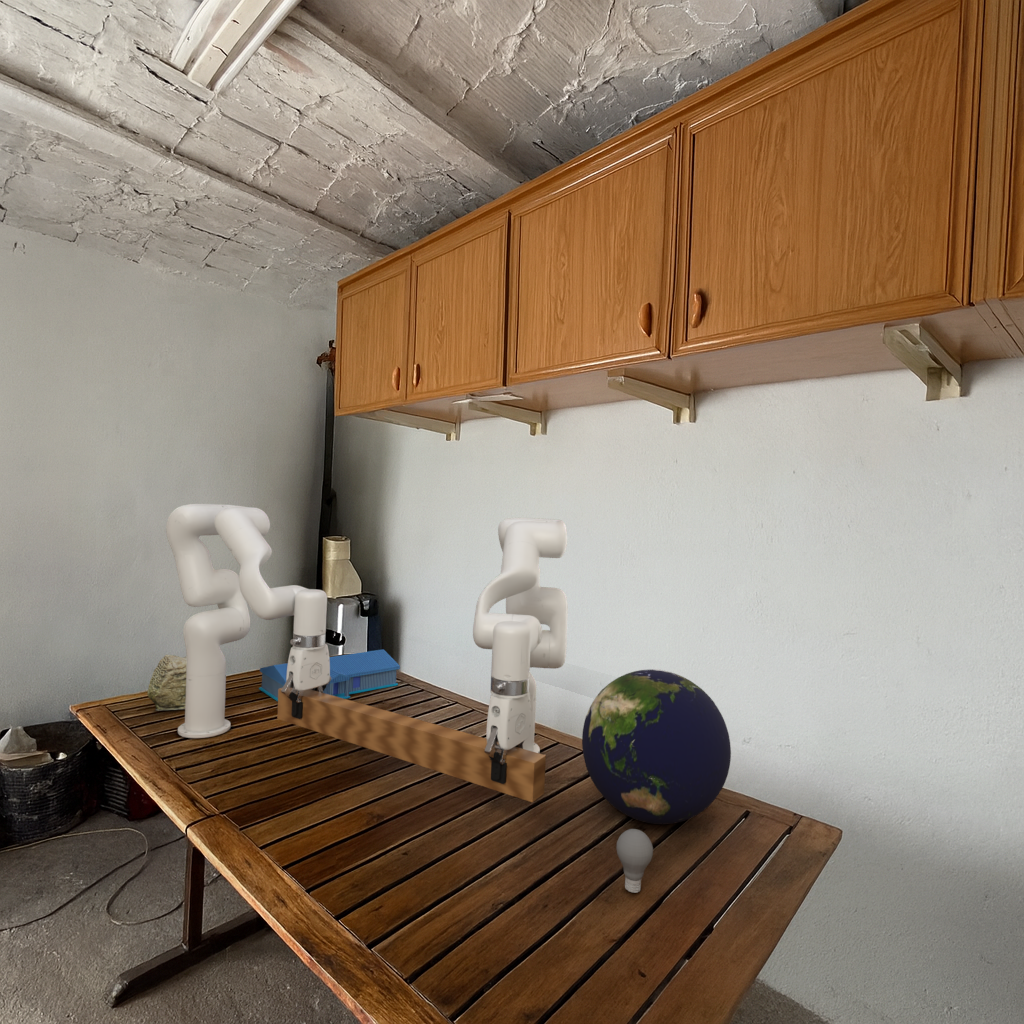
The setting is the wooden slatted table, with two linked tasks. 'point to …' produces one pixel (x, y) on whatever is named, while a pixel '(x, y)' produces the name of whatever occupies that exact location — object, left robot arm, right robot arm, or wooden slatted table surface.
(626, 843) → the light bulb
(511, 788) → the bar
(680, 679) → the globe
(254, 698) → the wooden slatted table surface
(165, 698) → the fossil
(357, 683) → the model building
